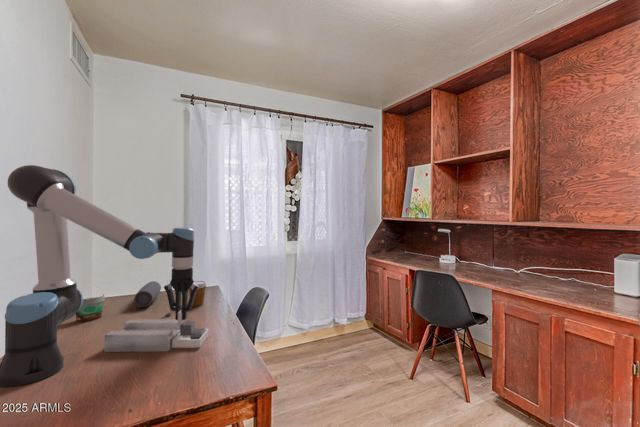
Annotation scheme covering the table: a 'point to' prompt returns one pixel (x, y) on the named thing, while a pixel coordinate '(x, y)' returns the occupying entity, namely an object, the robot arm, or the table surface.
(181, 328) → the dark gray cube
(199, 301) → the disposable coffee cup
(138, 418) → the table surface
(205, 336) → the tray
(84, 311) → the food container
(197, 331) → the dark grey cube
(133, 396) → the table surface
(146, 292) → the bluetooth speaker
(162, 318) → the tomahawk
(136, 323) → the slot block
